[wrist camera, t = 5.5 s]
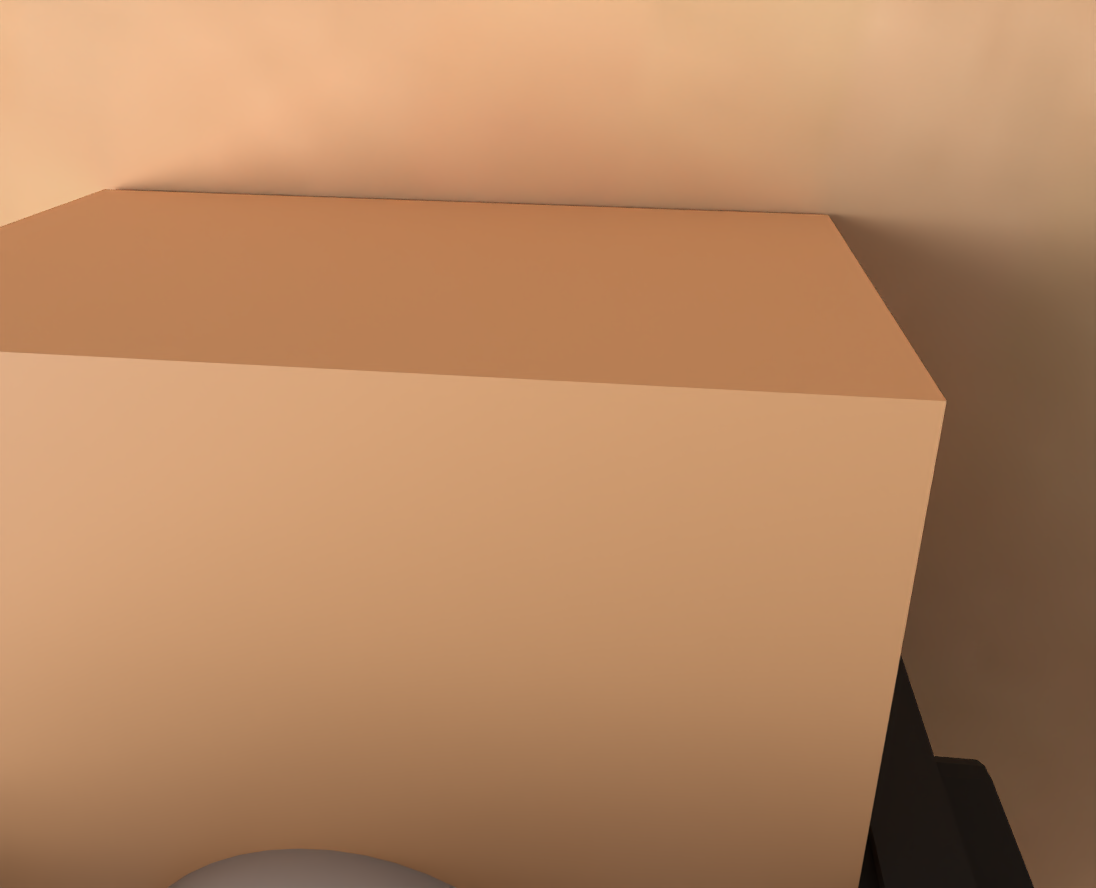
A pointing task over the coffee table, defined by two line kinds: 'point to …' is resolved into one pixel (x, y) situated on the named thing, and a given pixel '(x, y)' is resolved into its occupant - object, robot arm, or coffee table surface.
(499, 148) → the coffee table surface
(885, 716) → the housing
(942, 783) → the robot arm
